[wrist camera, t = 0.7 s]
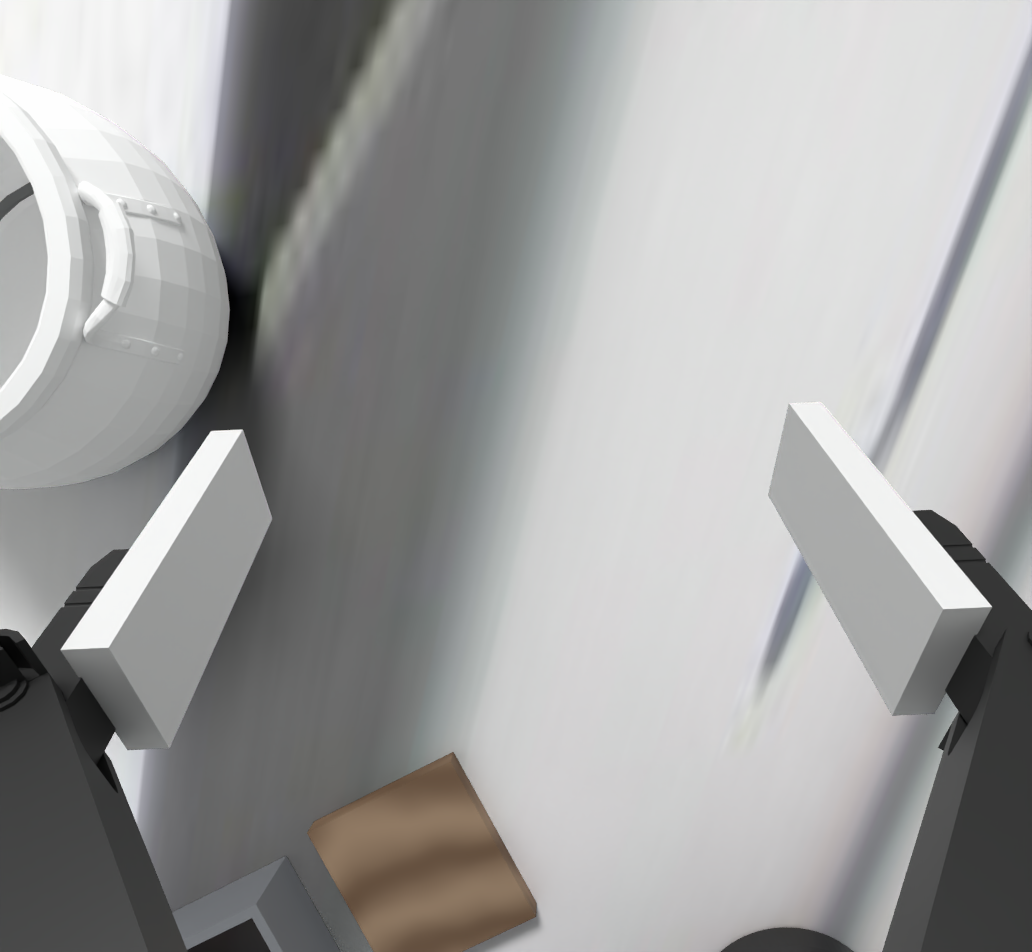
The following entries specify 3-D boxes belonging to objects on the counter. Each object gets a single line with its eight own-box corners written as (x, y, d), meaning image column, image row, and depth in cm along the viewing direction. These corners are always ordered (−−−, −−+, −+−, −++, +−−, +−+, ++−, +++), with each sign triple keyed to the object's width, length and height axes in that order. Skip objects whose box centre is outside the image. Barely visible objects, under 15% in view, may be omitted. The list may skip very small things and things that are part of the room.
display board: (536, 902, 52) (535, 916, 51) (396, 969, 54) (392, 984, 52) (453, 751, 52) (450, 761, 51) (314, 821, 53) (307, 832, 52)
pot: (270, 137, 50) (120, -19, 32) (275, 483, 51) (136, 509, 34) (-91, 142, 51) (-415, -3, 34) (-74, 478, 53) (-373, 501, 36)
